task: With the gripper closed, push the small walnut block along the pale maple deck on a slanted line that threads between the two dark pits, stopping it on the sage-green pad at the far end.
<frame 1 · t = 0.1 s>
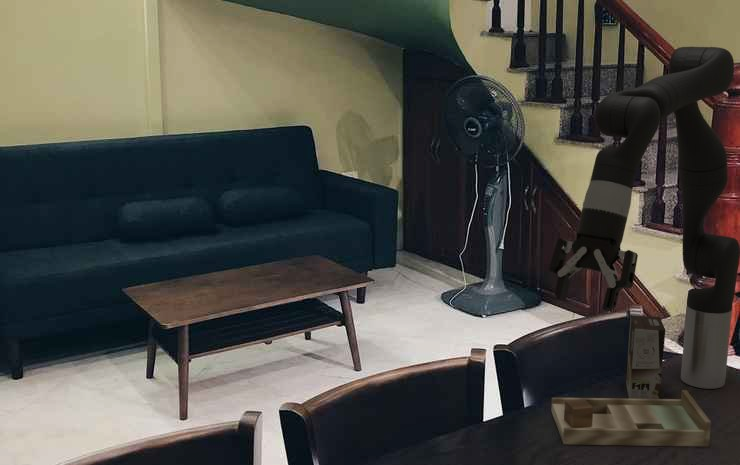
hand: (583, 305, 146), 31 cm above the table, tool tilted 20°, fingers open, 8 cm apart
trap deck: (623, 428, 172), on the table
walnut block: (577, 423, 169), point 2 cm above the table, touching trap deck
coffee box: (642, 394, 188), on the table
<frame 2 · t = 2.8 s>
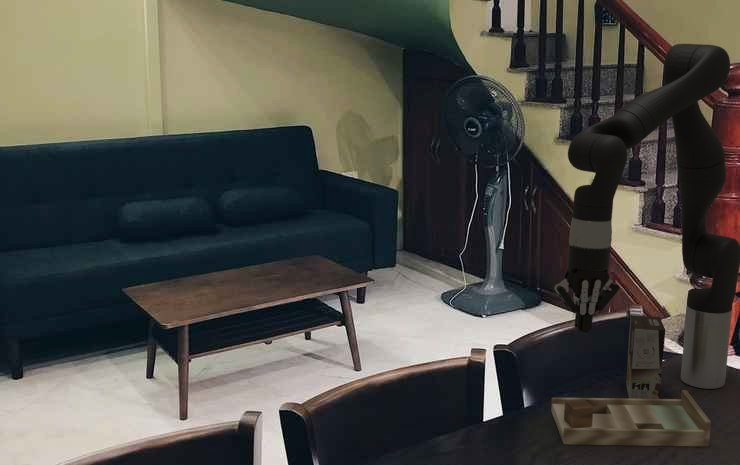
hand: (582, 332, 165), 21 cm above the table, tool pointing down, fingers closed
nothing on the table moved.
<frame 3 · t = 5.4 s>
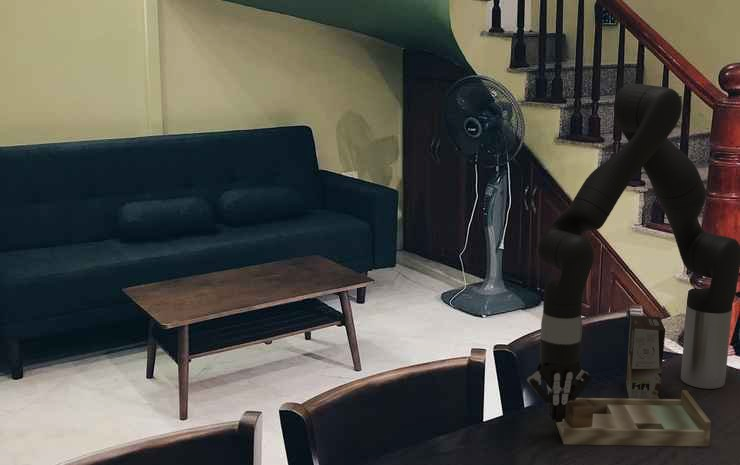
hand: (556, 420, 169), 3 cm above the table, tool pointing down, fingers closed
walnut block: (577, 422, 169), point 2 cm above the table, touching gripper, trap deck
everything else where it was.
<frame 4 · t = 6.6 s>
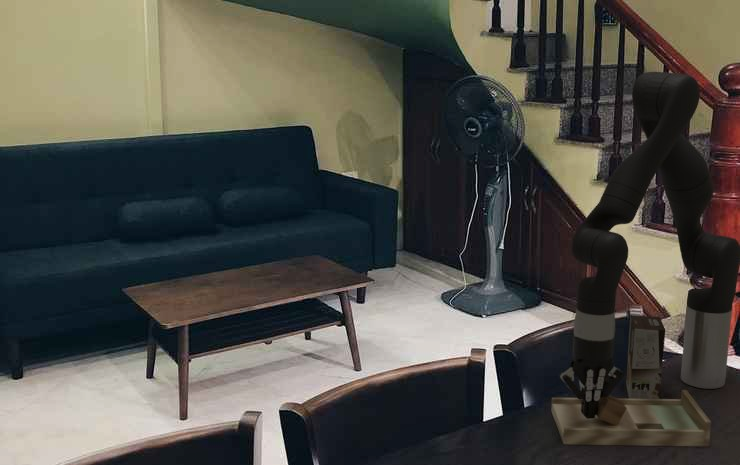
hand: (588, 416, 170), 3 cm above the table, tool pointing down, fingers closed
walnut block: (604, 417, 170), point 3 cm above the table, tilted 25°, touching gripper, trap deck
everything else where it was.
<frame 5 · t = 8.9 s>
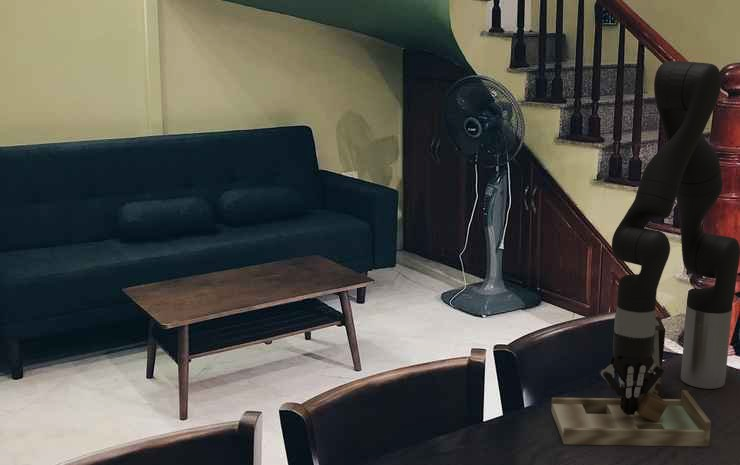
hand: (628, 413, 171), 3 cm above the table, tool pointing down, fingers closed
walnut block: (645, 414, 171), point 3 cm above the table, tilted 25°, touching gripper
everything else where it was.
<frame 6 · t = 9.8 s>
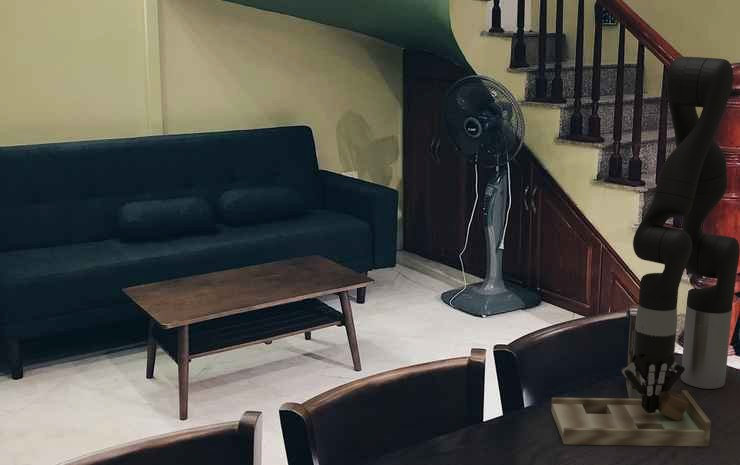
hand: (649, 411, 172), 3 cm above the table, tool pointing down, fingers closed
walnut block: (666, 413, 172), point 3 cm above the table, tilted 25°, touching gripper
everything else where it was.
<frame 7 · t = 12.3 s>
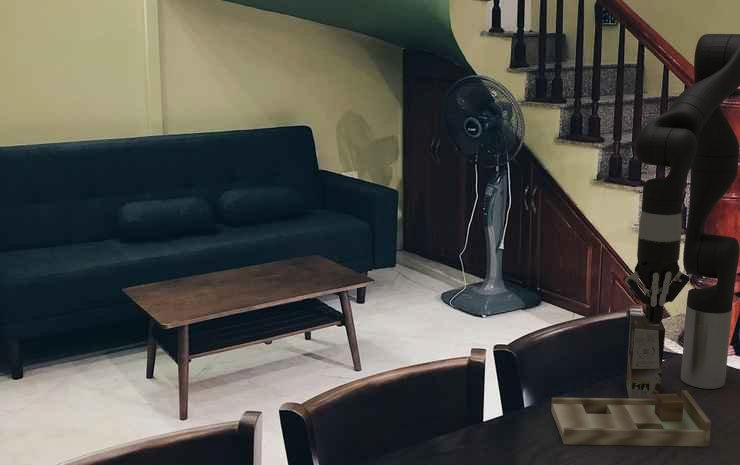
hand: (653, 323, 167), 22 cm above the table, tool pointing down, fingers closed
walnut block: (668, 416, 172), point 2 cm above the table, touching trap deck
everything else where it was.
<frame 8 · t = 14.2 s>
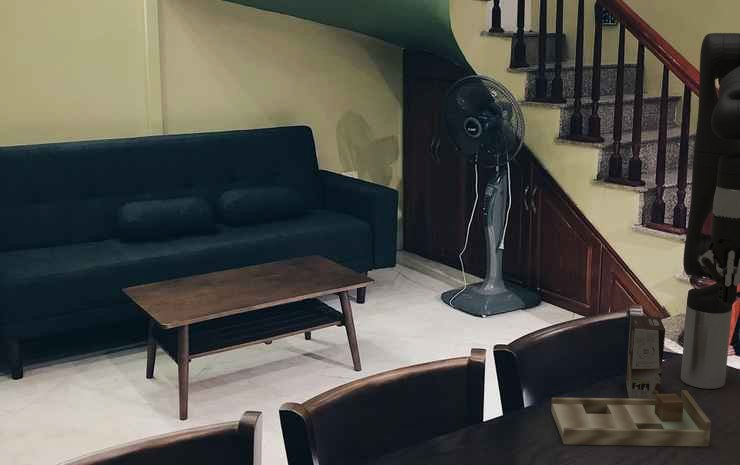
hand: (726, 303, 161), 27 cm above the table, tool pointing down, fingers closed
nothing on the table moved.
at the end: walnut block inside the target area on the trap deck (1.4 cm from its centre), point 2.0 cm above the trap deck's base; walnut block tilted 0° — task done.
